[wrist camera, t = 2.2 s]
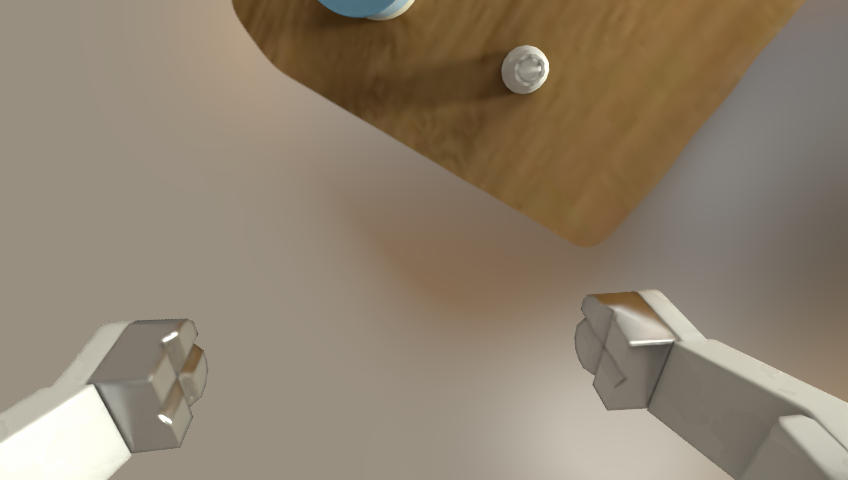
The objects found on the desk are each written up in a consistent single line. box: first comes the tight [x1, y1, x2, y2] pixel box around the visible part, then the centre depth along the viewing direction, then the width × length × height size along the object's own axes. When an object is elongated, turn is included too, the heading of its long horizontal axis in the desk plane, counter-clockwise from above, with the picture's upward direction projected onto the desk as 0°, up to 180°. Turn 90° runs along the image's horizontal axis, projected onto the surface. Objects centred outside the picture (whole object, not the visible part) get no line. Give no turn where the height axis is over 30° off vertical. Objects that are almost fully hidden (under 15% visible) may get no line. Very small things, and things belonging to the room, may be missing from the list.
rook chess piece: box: [501, 45, 549, 94], centre depth 39 cm, size 4×4×8 cm
